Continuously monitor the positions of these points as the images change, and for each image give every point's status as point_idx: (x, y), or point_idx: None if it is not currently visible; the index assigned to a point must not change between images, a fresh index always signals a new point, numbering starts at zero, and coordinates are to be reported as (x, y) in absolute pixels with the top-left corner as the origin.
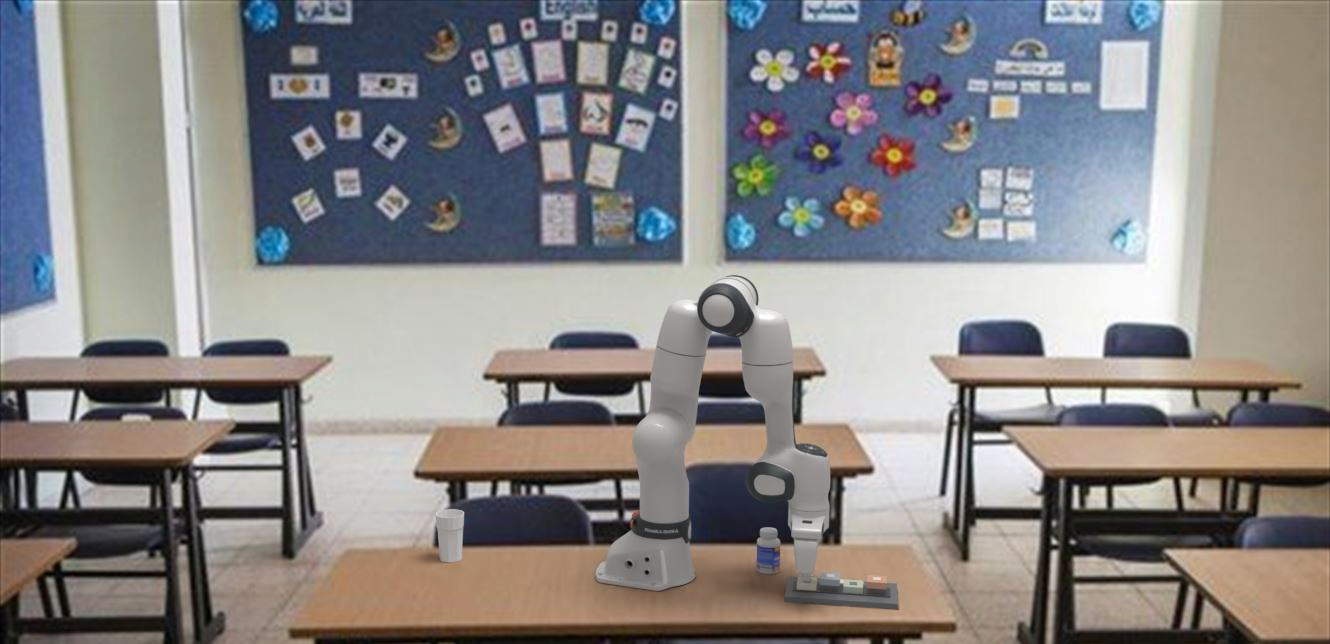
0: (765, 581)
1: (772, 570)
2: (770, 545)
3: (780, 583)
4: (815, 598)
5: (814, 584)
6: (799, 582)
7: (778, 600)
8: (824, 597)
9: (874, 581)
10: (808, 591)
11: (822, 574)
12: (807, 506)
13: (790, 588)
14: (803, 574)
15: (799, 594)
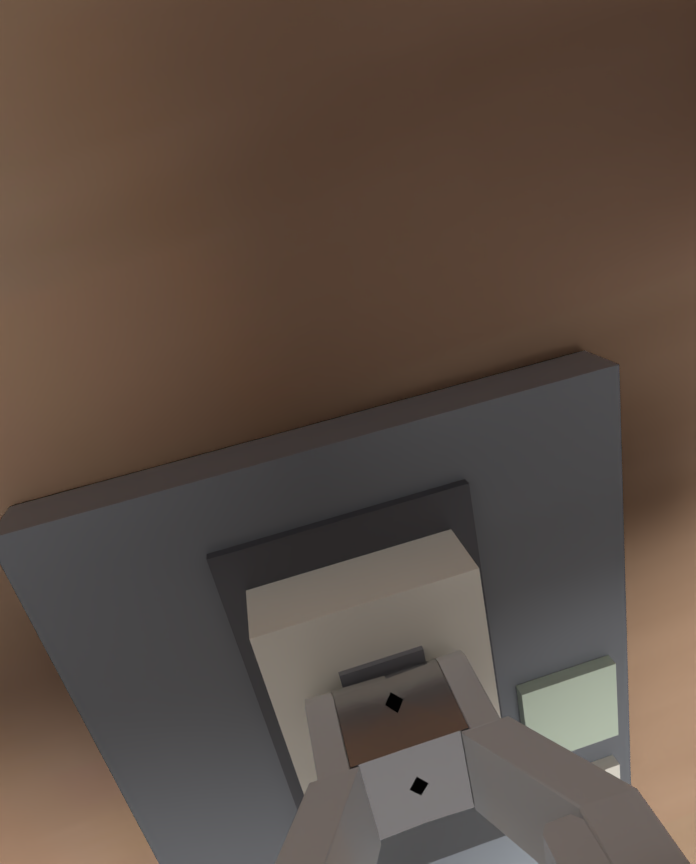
0: (523, 96)
1: None
2: None
3: (510, 292)
4: (122, 791)
5: (302, 786)
6: (291, 650)
7: (8, 437)
8: (187, 835)
9: None
10: (254, 692)
11: (466, 862)
12: None
13: (269, 509)
14: (320, 774)
15: (141, 647)
